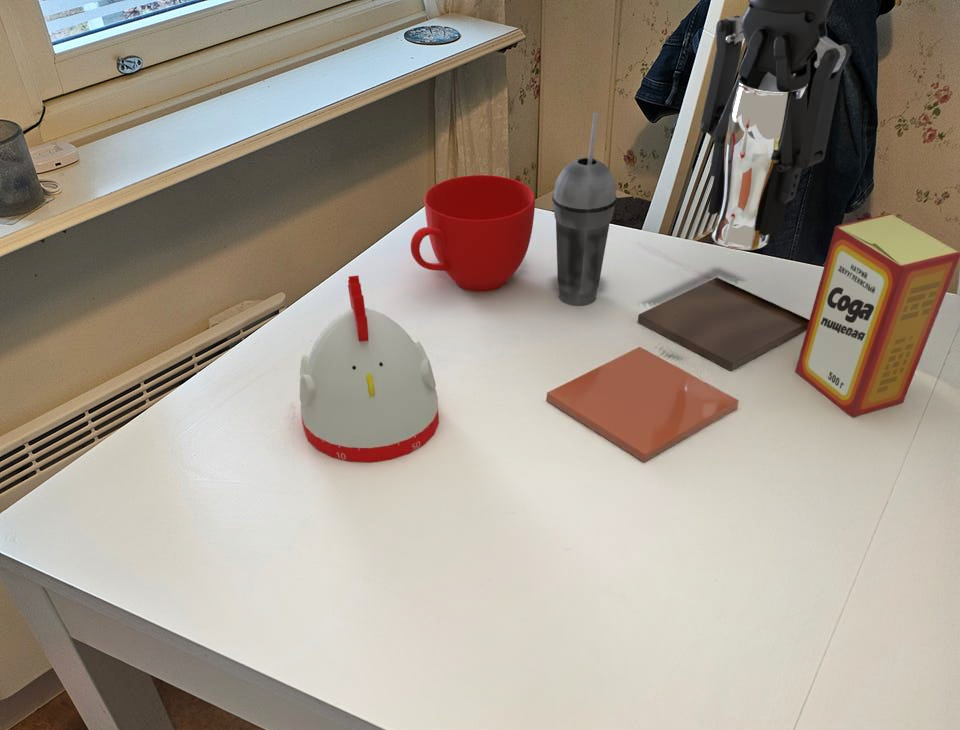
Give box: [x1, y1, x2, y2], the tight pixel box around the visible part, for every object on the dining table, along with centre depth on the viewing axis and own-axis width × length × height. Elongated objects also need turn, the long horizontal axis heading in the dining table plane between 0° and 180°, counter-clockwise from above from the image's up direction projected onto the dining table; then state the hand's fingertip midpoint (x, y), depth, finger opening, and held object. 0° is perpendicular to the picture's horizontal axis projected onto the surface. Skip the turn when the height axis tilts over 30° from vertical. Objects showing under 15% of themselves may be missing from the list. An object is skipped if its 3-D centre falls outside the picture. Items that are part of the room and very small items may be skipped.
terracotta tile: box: [545, 346, 740, 463], centre depth 93 cm, size 14×14×1 cm
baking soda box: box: [794, 213, 960, 418], centre depth 89 cm, size 10×6×16 cm
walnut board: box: [636, 276, 810, 372], centre depth 104 cm, size 14×14×1 cm
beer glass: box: [711, 72, 809, 251], centre depth 91 cm, size 7×7×15 cm
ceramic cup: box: [410, 174, 536, 293], centre depth 108 cm, size 13×17×10 cm
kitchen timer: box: [299, 275, 440, 463], centre depth 87 cm, size 14×14×15 cm
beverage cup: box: [551, 111, 618, 307], centre depth 102 cm, size 7×7×20 cm
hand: (743, 219), depth 95 cm, fingers closed on beer glass, 6 cm apart
